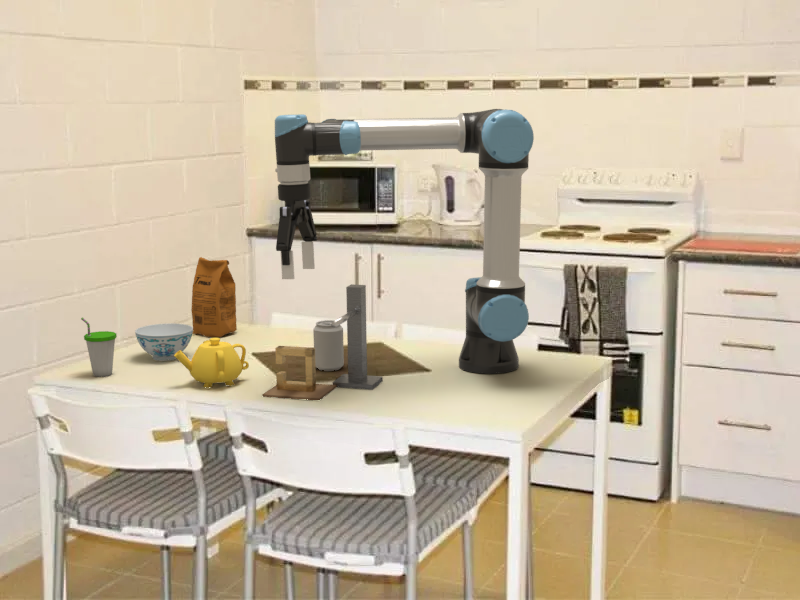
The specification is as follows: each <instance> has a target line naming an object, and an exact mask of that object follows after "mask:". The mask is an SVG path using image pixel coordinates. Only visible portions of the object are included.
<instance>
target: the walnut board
mask: <svg viewBox="0 0 800 600" xmlns="http://www.w3.org/2000/svg"><path fill="white" fill-rule="evenodd" d="M337 388H338V387H337V385H333V384H328V383H316V390H314V391H313V392H307V391H293V390H278V389H277V384H276V385H274V386H272V387H271V388H270V389H268V390H267V391H265V392H264V393H262V395H261V397H262V396H263V398H271V397H278V398H277V399H285V398H291V399H290V400H299V399H306V400H305V401H313V400H320V399H321V400H322V399H323V397H324V396H325V397H326V396H328V395H329V394H330V393H332V392H333V391H334V390H335V389H337ZM325 397H324V398H325ZM307 399H308V400H307ZM321 400H320V401H321Z"/></svg>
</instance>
